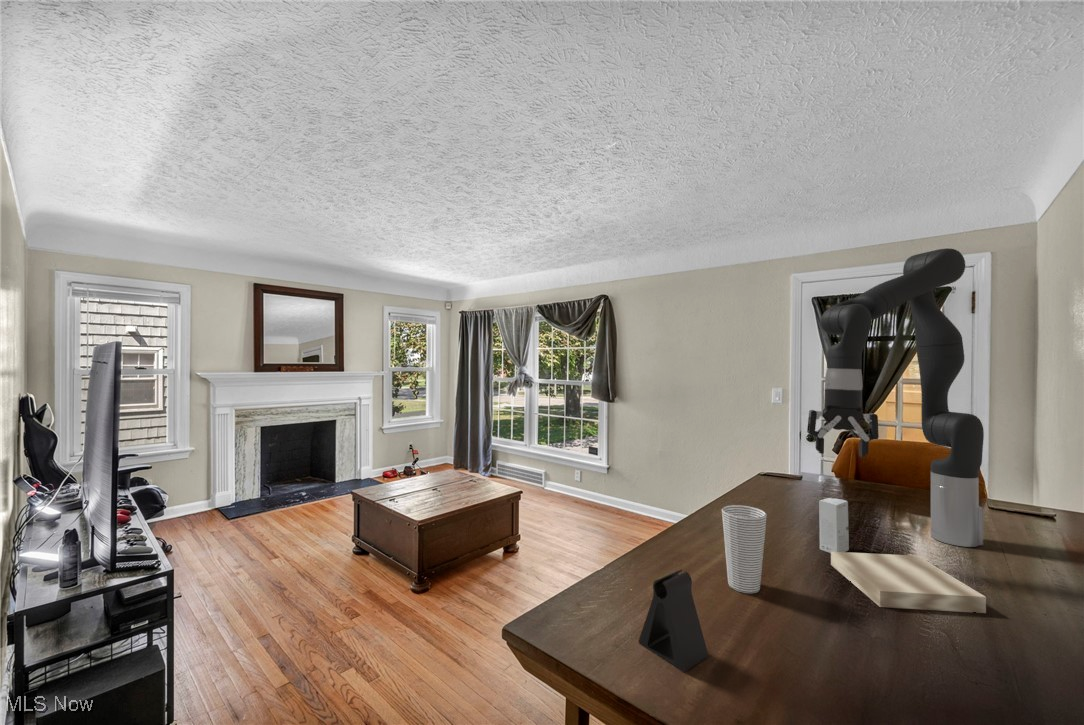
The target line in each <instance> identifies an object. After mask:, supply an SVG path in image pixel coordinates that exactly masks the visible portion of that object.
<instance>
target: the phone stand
mask: <svg viewBox="0 0 1084 725" xmlns="http://www.w3.org/2000/svg"><path fill="white" fill-rule="evenodd" d="M681 572H682V573H681ZM679 573H680V574H679ZM692 582H693V581H692V577H691V575H690V573H689V572H688V571H684V572H683V569H682V568H681V569H678V570H676V571H673V572H671V573H670V574H667V575H664V576H663V577H660V578H657V579H656V580H654V581H653V583H652V590H653V591H652V592H653V594H652V595H653V596H652V600H651V603H650V606H649V609H648V613H647V615H646V617H645V621H644V624H643V626H642V630H641V633H640V635H639V638H638V643H639V645H641V646H642V647H644V648H645V649H646V650H648V651H650V652H651V653H653V655H656V656H657V657H658V658H661V659H662V660H663V661H665V662H667V663H668V664H670V665H671V666H673V667H674V668H676V669H677V670H678V671H681V673H685V672H688V671H689V670H690V669H692V668H693V667H695V666H697V665H698V664H699V663H701V662H703V661H704V660H706V659H707V658H708V657H709V653H708V649H707V645H706V642H705V641H706V640H705V638H704V633H703V631H702V630H703V629H702V627H701V623H700V619H699V615H698V612H697V608H696V607H697V606H696V604H695V602H694V601H695V600H694V597H693V592H692V586H693V583H692Z"/></svg>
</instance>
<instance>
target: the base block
mask: <svg viewBox="0 0 1084 725" xmlns="http://www.w3.org/2000/svg"><path fill="white" fill-rule="evenodd" d="M830 565H831V566H832V567H833V568H834V569H835V570H836V571H837V572H839V573H840V574H841V575H842V576H843V577H845V578H846V579H847V580H848V581H849V582H850V581H851V582H850V583H852V584H853V585H854V586H855V587H857V588H858V590H860V591H861V592H862V593H863V594H864V595H865V596H867V597H868V598H869V599H870V600H871V601H873V603H875V604H876V605H877V606H878V607H880V608H893V609H909V610H910V609H911V610H925V611H927V610H928V611H940V612H941V611H944V612H957V613H973V612H976V614H986V613H987V597H986V596H985V595H984V594H982V593H980V592H979V591H977V590H975V589H973V588H972V587H970V586H968V585H967V584H965V583H964V582H961V581H960V580H959V579H956V578H955V577H953V576H952V575H951V574H948V573H947V572H945V571H943V570H942V569H940V568H938V567H937V566H935V565H933V564H932V563H930V562H929V561H928V560H925V559H923V557H920V556H918V555H914V554H913V555H911V554H909V555H908V554H888V553H871V552H870V553H867V552H850V551H849V552H848V551H846V552H831V553H830Z"/></svg>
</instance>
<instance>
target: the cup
mask: <svg viewBox="0 0 1084 725" xmlns="http://www.w3.org/2000/svg"><path fill="white" fill-rule="evenodd" d="M767 516H768V515H767V512H766V511H765V510H763V509H760V508H758V507H753V506H749V505H742V504H730V505H725V506H723V507H722V508H721V518H722V528H723V529H722V530H723V540H724V542H723V543H724V551H725V563H726V574H727V583H728V586H729V587H730V588H731V589H732V590H734V591H737V592H738V593H739V592H740V593H743V594H756V593H758V592H760V589H761V583H762V582H761V581H762V570H763V561H764V558H763V557H764V548H765V538H766V527H767Z"/></svg>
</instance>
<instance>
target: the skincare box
mask: <svg viewBox="0 0 1084 725" xmlns="http://www.w3.org/2000/svg"><path fill="white" fill-rule="evenodd" d="M818 512H819V513H818V516H819V517H818V518H819V519H818V520H819V528H818V529H819V550H821V551H823V552H826V553H829V554H831V552H848V551H850V550H849V549H850V545H849V544H850V542H849V541H850V536H849V535H850V534H849V533H850V532H849V502H848V500H845V499H841V498H836V497H827V498H824V499H821V500H819V501H818Z"/></svg>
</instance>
